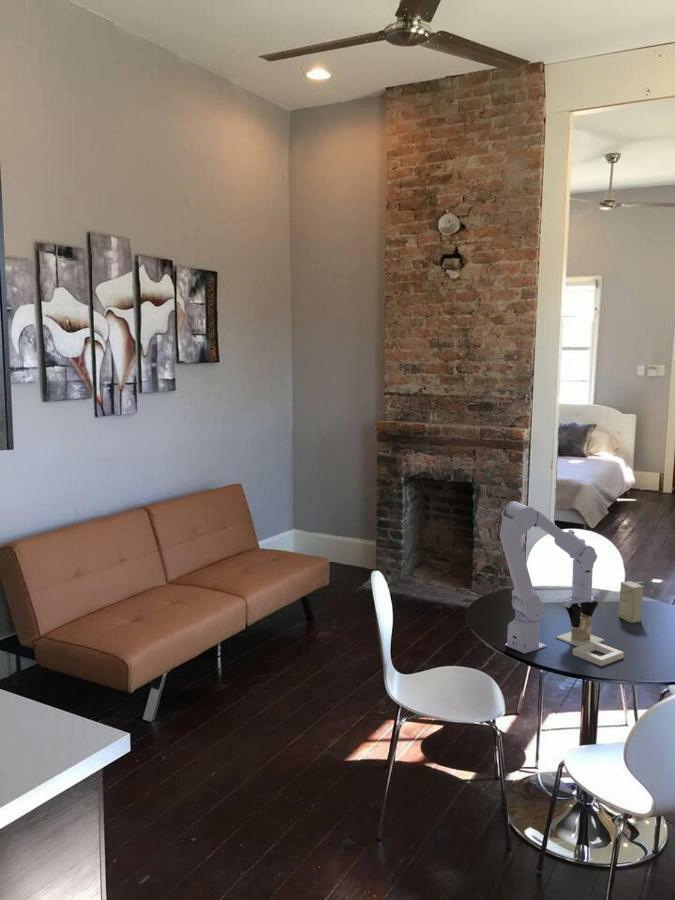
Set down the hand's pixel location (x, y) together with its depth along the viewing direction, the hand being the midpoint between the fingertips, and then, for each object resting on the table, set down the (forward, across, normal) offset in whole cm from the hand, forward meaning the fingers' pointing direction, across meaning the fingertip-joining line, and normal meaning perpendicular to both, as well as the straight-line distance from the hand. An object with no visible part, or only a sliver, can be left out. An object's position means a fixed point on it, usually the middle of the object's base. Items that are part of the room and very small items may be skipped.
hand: (580, 625), depth 227 cm
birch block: (+4, 0, 0) cm, 4 cm away
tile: (+5, 0, 0) cm, 5 cm away
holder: (+5, -6, -11) cm, 13 cm away
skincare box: (+5, +28, +2) cm, 28 cm away
